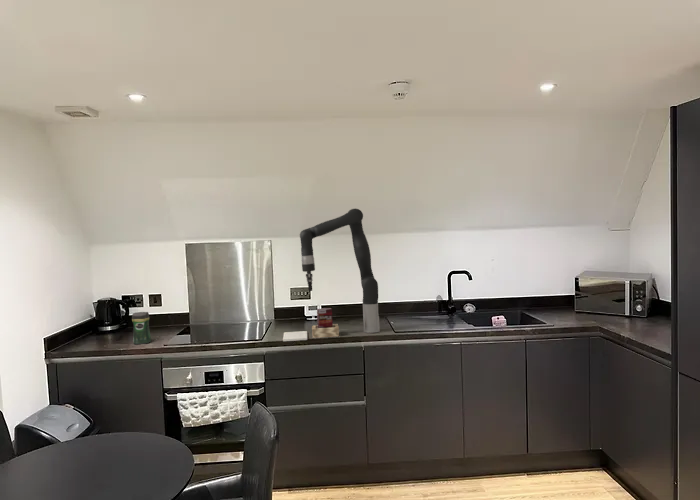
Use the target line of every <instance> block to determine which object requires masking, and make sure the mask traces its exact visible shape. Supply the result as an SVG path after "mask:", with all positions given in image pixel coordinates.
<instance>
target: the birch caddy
mask: <svg viewBox="0 0 700 500" xmlns="http://www.w3.org/2000/svg"><path fill="white" fill-rule="evenodd" d="M311 331H312V339H316V338H331V337H333V338H334V337H339V336H340V328H339V325H338V323H333V328H317V325H312V326H311Z"/></svg>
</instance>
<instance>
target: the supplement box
mask: <svg viewBox="0 0 700 500" xmlns="http://www.w3.org/2000/svg"><path fill="white" fill-rule="evenodd" d="M316 322H317V328H333V324H334V323H333V322H334V321H333V308H332V307H324V308H322V307H321V308H316Z"/></svg>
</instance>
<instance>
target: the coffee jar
mask: <svg viewBox="0 0 700 500" xmlns="http://www.w3.org/2000/svg"><path fill="white" fill-rule="evenodd" d="M150 319H151V318H150V314H149V312H148V311H139V312H138V311H137V312H134V313H133V312H132V315H131V321H132V324H133V344H134V345H144V344H148V343H149V342H150V343H151V342H152V336H151V332H150Z"/></svg>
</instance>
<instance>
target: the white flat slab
mask: <svg viewBox="0 0 700 500" xmlns="http://www.w3.org/2000/svg"><path fill="white" fill-rule="evenodd" d="M307 340H308V331H307V330H306V331H303V330H302V331H287V332H285V331H284V332H283V337H282V342H295V341H307Z"/></svg>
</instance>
